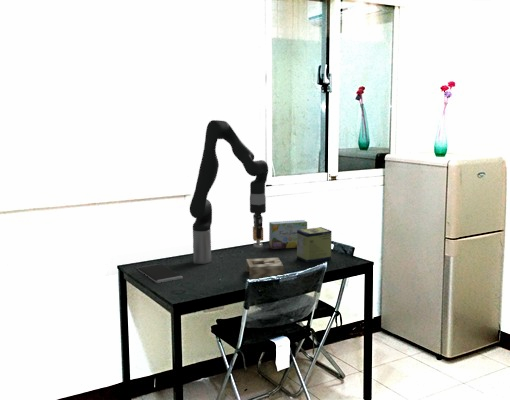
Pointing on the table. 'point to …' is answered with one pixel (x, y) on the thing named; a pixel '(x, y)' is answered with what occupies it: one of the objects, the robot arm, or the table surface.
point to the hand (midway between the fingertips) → (258, 237)
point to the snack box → (285, 233)
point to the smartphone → (159, 273)
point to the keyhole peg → (256, 238)
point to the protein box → (313, 244)
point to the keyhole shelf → (264, 267)
